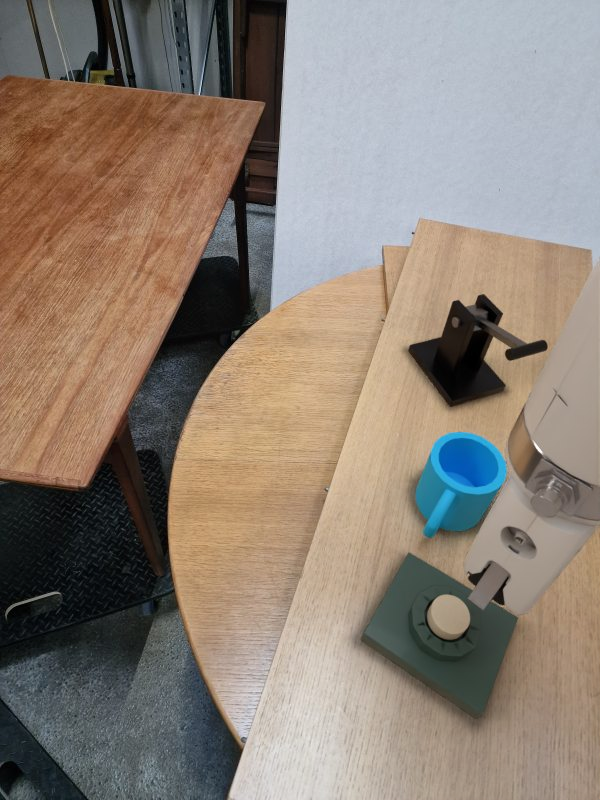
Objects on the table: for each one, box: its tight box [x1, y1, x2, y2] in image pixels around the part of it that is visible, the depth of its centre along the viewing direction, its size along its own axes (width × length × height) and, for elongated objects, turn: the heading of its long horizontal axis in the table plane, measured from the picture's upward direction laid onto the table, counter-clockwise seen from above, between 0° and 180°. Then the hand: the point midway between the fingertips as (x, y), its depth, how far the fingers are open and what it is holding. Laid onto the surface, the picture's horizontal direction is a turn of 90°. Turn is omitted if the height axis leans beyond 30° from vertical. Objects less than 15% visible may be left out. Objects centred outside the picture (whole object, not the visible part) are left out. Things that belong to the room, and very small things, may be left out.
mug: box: [414, 431, 508, 539], centre depth 58 cm, size 12×8×8 cm
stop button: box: [427, 595, 470, 640], centre depth 48 cm, size 4×4×2 cm
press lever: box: [465, 303, 549, 362], centre depth 65 cm, size 12×5×2 cm, turn 21°
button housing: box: [360, 552, 519, 719], centre depth 50 cm, size 12×10×4 cm
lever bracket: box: [407, 293, 507, 408], centre depth 72 cm, size 12×9×12 cm
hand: (489, 585), depth 42 cm, fingers closed
